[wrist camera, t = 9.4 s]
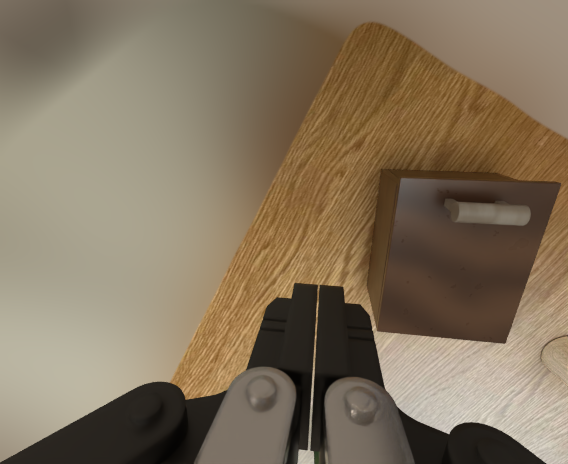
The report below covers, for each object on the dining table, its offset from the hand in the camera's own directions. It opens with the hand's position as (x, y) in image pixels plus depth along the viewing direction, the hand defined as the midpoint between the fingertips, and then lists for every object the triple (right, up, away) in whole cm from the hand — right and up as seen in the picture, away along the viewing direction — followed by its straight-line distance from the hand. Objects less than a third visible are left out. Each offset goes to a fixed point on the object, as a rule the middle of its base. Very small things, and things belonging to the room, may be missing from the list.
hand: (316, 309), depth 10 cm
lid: (+15, -1, +20) cm, 25 cm away
